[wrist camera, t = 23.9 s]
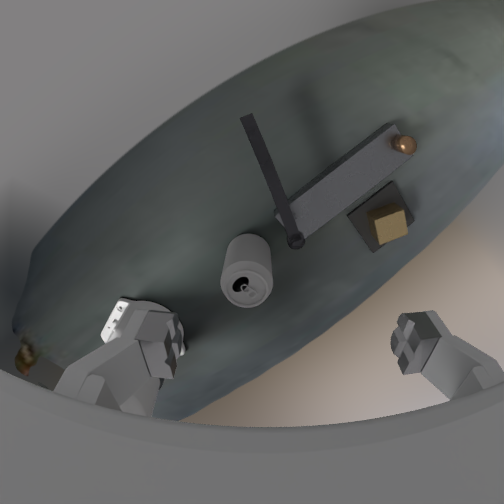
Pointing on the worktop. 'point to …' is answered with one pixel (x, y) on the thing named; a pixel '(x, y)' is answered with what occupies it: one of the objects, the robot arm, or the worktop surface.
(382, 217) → the brown wooden block
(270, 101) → the worktop surface
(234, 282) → the can
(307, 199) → the body
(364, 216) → the mat
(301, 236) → the lever
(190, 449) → the robot arm
